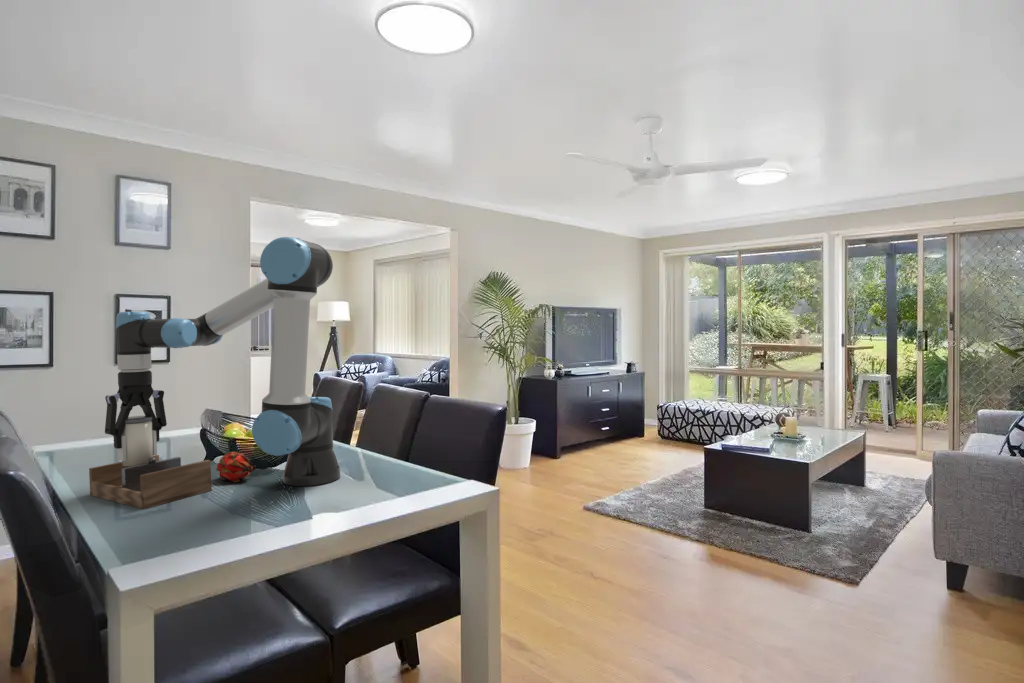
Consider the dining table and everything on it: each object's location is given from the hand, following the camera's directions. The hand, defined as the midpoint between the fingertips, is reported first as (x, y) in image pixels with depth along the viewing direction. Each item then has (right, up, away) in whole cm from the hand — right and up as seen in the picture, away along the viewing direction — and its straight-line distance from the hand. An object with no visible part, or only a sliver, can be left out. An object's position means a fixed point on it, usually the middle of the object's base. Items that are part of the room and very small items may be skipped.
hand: (137, 457), depth 156 cm
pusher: (+6, -8, -3) cm, 10 cm away
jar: (0, -2, 0) cm, 2 cm away
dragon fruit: (+22, -8, +9) cm, 25 cm away
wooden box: (+5, -9, -2) cm, 10 cm away
